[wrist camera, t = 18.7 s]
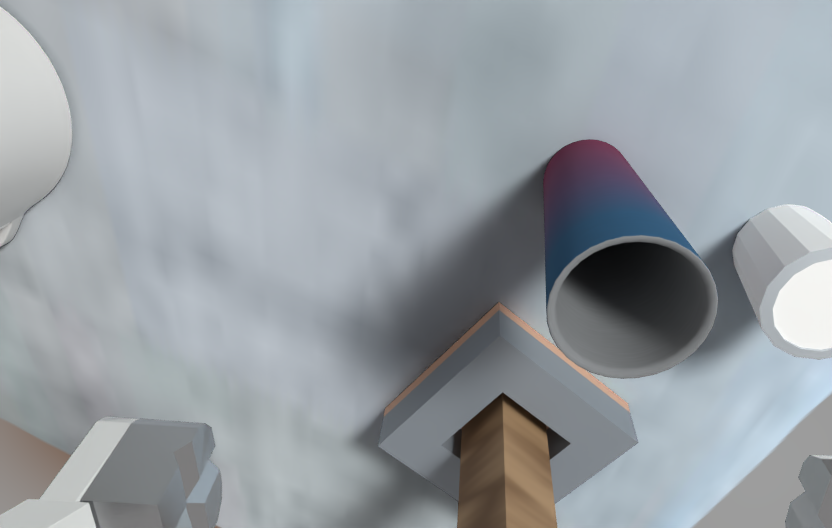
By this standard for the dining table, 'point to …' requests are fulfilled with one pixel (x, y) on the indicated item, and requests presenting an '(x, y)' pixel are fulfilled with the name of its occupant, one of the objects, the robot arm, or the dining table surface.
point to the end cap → (525, 384)
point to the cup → (618, 269)
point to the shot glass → (789, 277)
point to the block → (505, 470)
